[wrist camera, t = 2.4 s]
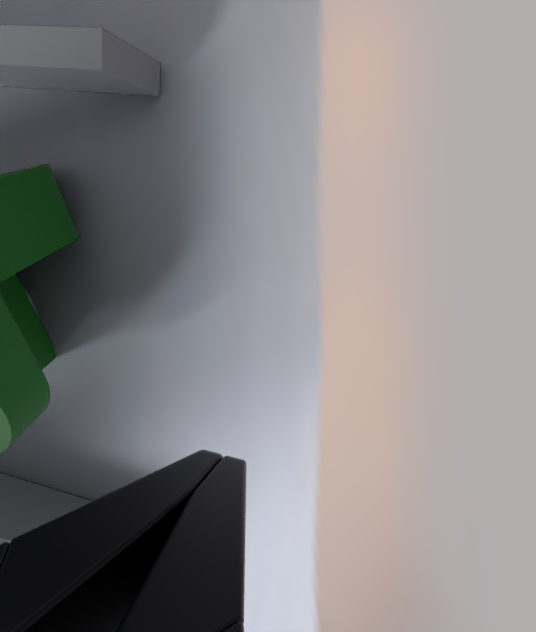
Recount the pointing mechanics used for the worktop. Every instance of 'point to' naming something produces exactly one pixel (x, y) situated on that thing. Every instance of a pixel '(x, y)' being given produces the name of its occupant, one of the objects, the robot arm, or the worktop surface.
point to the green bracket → (11, 300)
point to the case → (74, 75)
